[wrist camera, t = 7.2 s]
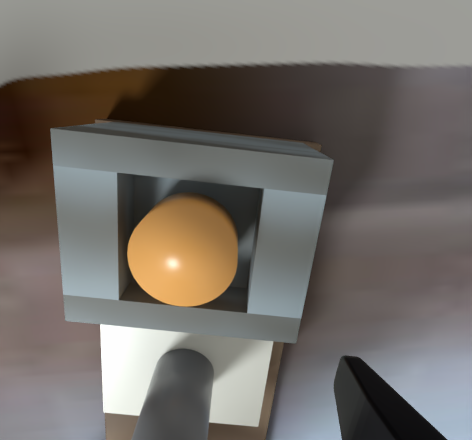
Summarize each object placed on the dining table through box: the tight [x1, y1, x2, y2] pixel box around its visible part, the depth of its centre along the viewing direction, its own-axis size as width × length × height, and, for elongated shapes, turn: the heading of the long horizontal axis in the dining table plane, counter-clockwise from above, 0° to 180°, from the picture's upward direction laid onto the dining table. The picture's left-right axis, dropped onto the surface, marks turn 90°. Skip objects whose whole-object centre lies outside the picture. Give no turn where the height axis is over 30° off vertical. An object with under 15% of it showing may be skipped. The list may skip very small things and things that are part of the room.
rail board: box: [50, 119, 334, 440], centre depth 20 cm, size 30×12×8 cm, turn 174°
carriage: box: [100, 324, 273, 440], centre depth 16 cm, size 7×9×7 cm
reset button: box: [127, 192, 238, 307], centre depth 13 cm, size 4×4×2 cm
